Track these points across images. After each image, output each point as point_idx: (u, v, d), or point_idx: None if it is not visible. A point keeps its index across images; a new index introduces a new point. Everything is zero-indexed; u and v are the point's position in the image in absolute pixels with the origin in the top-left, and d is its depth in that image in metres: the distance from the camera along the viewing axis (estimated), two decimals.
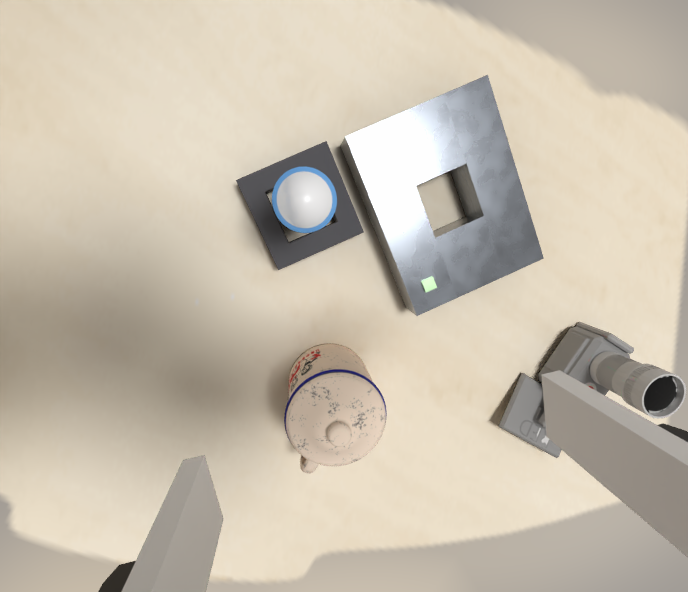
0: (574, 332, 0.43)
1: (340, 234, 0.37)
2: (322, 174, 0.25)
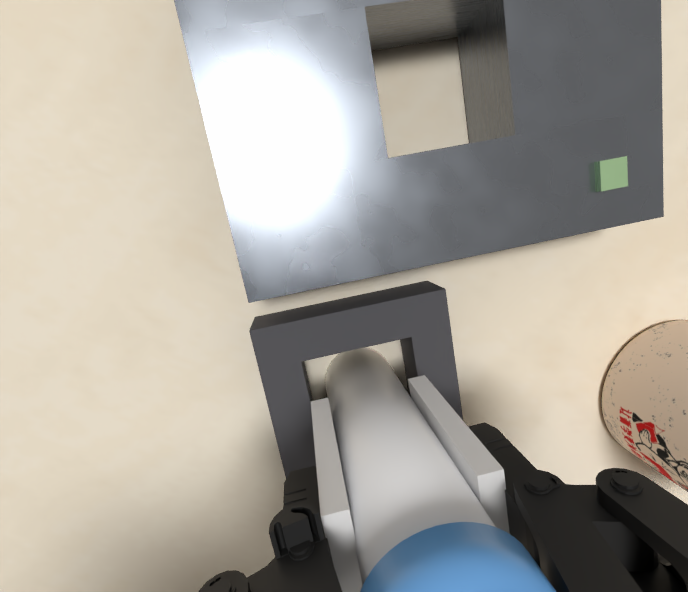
0: None
1: (436, 335, 0.18)
2: None
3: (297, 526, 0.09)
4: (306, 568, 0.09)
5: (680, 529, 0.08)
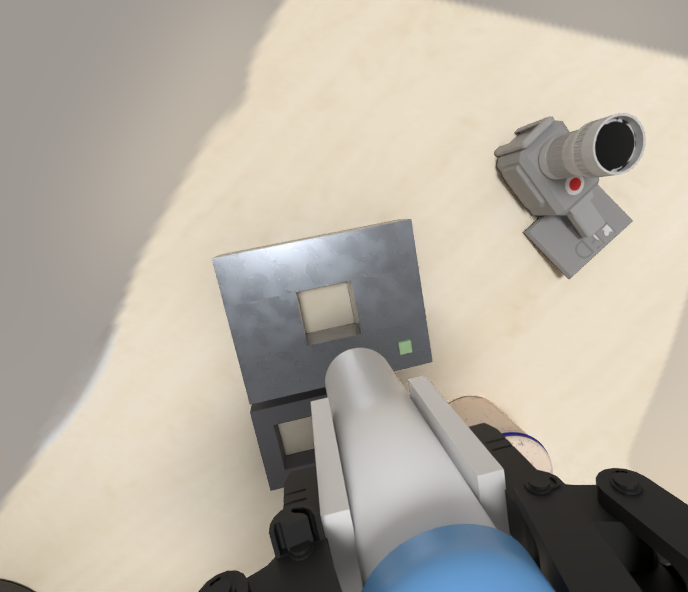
0: (504, 168, 0.38)
1: None
2: None
3: (297, 526, 0.09)
4: (306, 568, 0.09)
5: (680, 529, 0.08)
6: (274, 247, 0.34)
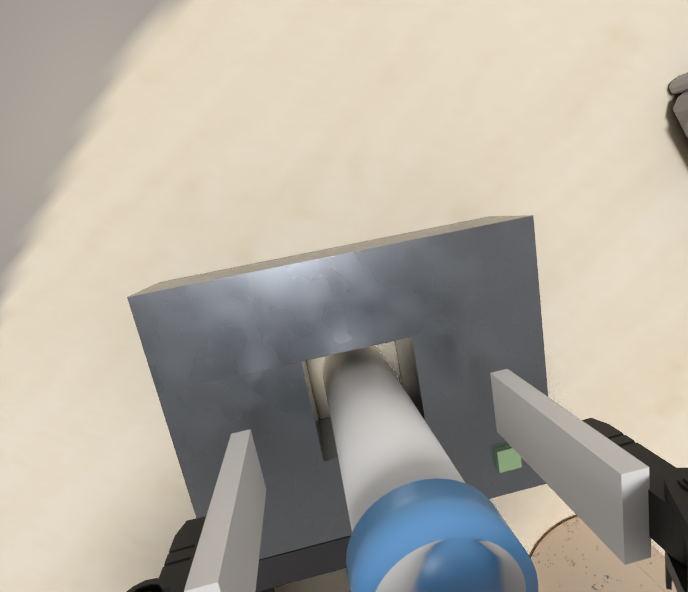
0: None
1: None
2: (391, 556, 0.08)
3: None
4: None
5: None
6: (258, 273, 0.17)
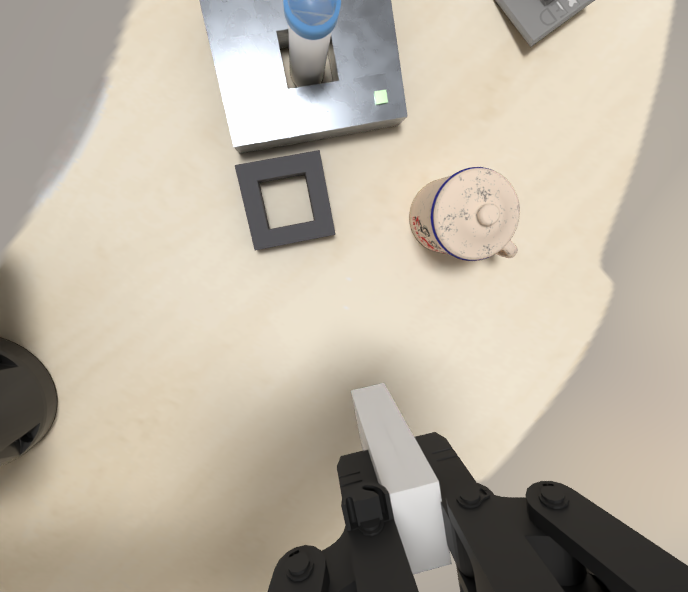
0: None
1: (316, 171, 0.41)
2: None
3: (368, 503, 0.09)
4: (376, 544, 0.09)
5: (605, 541, 0.08)
6: None
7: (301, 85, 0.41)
